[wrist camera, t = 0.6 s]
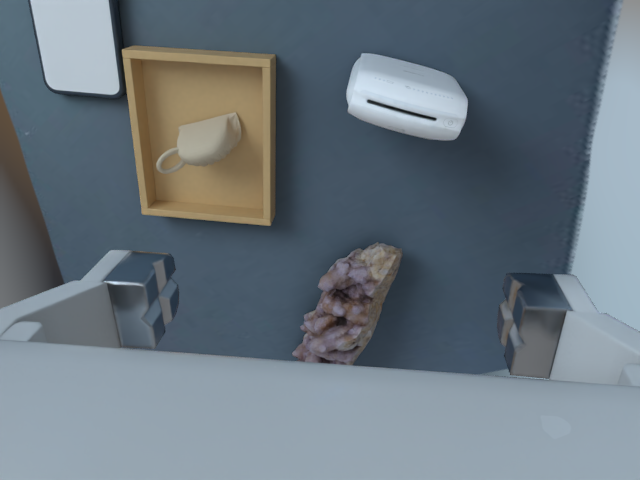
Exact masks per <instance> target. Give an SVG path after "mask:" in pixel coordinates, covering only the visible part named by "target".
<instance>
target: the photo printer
mask: <svg viewBox="0 0 640 480" xmlns="http://www.w3.org/2000/svg"><path fill="white" fill-rule="evenodd" d="M346 96H347V102H348V105H349V107H348V113H350V114H351V115H353V116H355V117H357V118H358V119H360V120H363V121H365V122H368V123H371V124H374V125H377V126H380V127H383V128H386V129H390V130H393V131H397V132H400V133H404V134H408V135H412V136H417V137H421V138H426V139H432V140H433V139H435V140H455V139H456V138H457V137H458V135H459V134H460V132H461V129H462V127H463V125H464V123H465V120H466V116H467V107H468V99H467V97H466V95H465V94H464V92H463V91H462V89H461V87H460V86H459V84H458V83H457V81H456V80H455V78H453V77H452V76H450V75H448V74H446V73H444V72H441V71H438V70H435V69H431V68H428V67H425V66H421V65H418V64H414V63H410V62H406V61H402V60H399V59H394V58H390V57H386V56H381V55H376V54H369V53H362V54H361V57H360V58H359V59H358V60H357V61H356V62H355V64H354V66H353V68H352V72H351V75H350V80H349V84H348V88H347V94H346Z"/></svg>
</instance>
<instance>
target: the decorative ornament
mask: <svg viewBox="0 0 640 480" xmlns="http://www.w3.org/2000/svg"><path fill="white" fill-rule="evenodd" d="M178 130H179V136H178V139H177V147H176V148H172V149H170V150H168V151H166V152H165V153H163V154H162V155H161V156H160V157H159V159H158V161H157V163H156V167H157V170H158V171H159V172H161V173H163V174H169V173H173V172H176V171H178V170H179V169H181V168H182V167H183V166H184V165H185V164H186V163H187V164H188V165H193V166H200V165H201V166H203V167H205V166H207V165H208V164H210V165H213V164H214V162H219V161H220V160H221V158H222V159H224V158H225V157H226V155H227V154H230V152H231V150H232V149H233V148H234V147H236V146H237V143H238V142H239V141H240V140H241V125H240V122H239V119H238V116H237V113H236V112H235V113H230V114H226V115H222V116H218V117H214V118H210V119H207V120H203V121H199V122H195V123H190V124H186V125H182V126H180V127H178ZM176 153H178V155H179V157H180V158H181V161H180V162H179V163H178V164H177V165H175V166H174V167H172V168H169V169H163V168H162V167H161V165H162V162H163V161H164V160H165V159H166V158H167V157H169V156H171V155H173V154H176Z"/></svg>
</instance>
